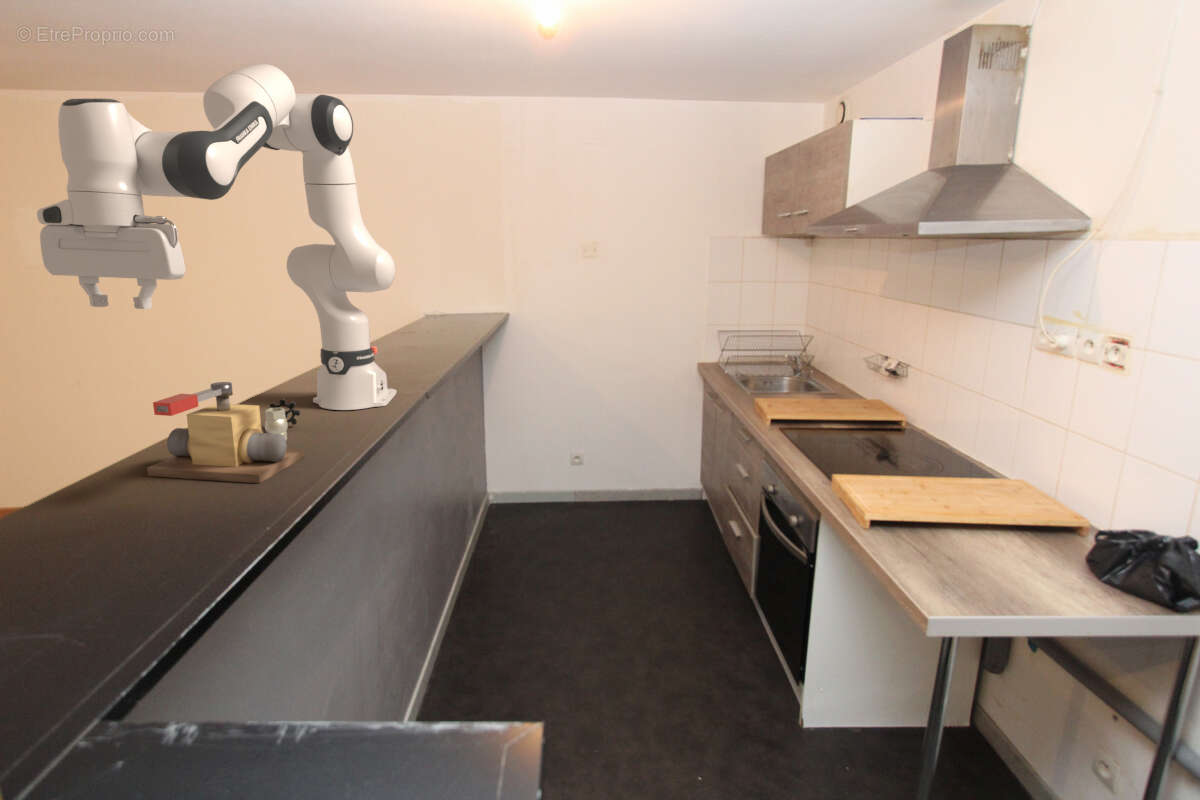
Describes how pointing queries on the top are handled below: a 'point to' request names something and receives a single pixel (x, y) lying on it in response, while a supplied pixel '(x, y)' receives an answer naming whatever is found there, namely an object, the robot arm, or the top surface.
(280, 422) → the valve
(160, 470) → the valve manifold
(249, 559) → the top surface
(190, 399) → the valve lever
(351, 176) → the robot arm
